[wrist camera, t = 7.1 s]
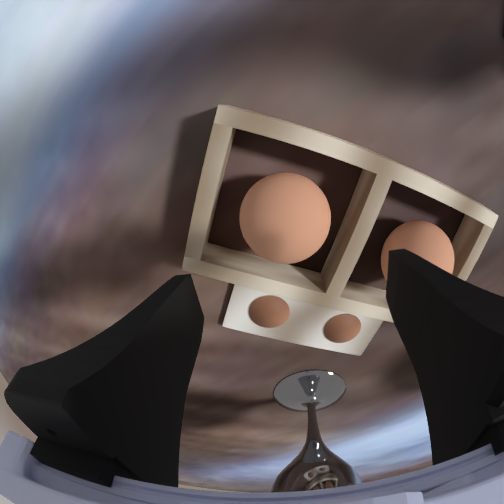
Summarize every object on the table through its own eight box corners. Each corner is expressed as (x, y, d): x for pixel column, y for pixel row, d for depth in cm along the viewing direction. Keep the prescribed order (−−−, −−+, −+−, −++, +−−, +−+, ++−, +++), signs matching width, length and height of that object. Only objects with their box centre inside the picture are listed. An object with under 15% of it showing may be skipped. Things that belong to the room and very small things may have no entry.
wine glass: (332, 416, 29) (343, 540, 16) (261, 409, 29) (253, 542, 16) (363, 371, 26) (393, 520, 12) (281, 361, 25) (279, 530, 12)
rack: (480, 203, 18) (498, 216, 16) (391, 357, 25) (398, 377, 23) (225, 104, 16) (218, 104, 14) (179, 311, 24) (171, 332, 21)
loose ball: (321, 161, 18) (338, 182, 13) (324, 236, 20) (338, 277, 16) (238, 168, 18) (227, 191, 14) (248, 242, 20) (242, 285, 16)
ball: (444, 222, 19) (480, 255, 14) (415, 280, 21) (441, 321, 17) (389, 199, 18) (421, 229, 14) (360, 263, 21) (380, 307, 16)
